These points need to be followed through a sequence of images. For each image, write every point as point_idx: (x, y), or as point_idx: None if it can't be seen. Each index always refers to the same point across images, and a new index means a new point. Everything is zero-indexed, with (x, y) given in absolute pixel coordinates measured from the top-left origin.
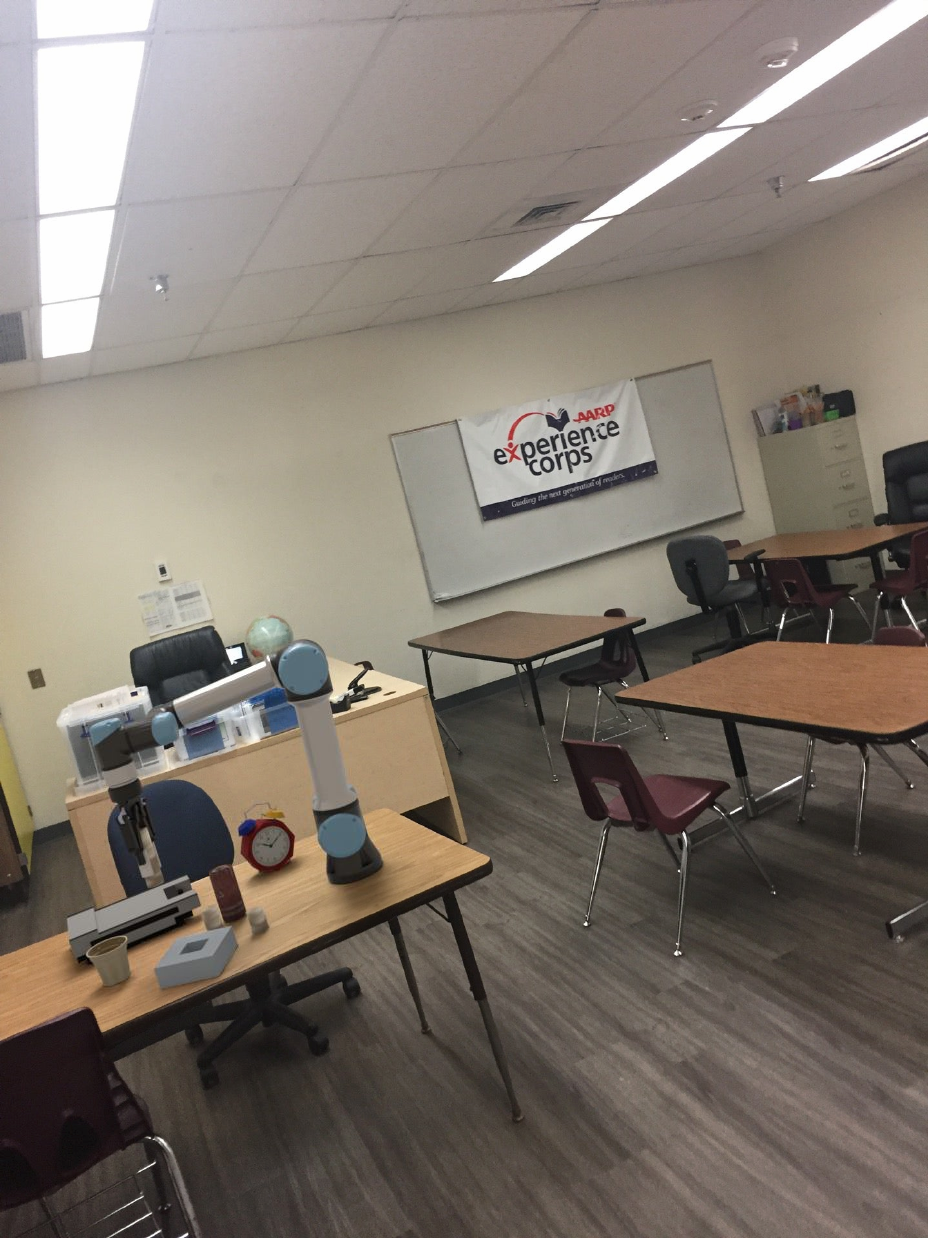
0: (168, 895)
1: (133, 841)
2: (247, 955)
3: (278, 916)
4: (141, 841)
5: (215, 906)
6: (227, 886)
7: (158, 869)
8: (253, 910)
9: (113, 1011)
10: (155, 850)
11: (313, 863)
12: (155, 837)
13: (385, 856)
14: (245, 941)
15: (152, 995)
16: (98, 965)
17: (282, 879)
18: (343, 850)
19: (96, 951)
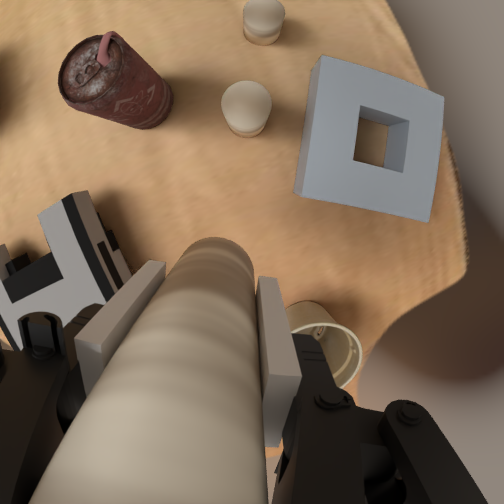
0: (42, 282)
1: (467, 491)
2: (370, 52)
3: (217, 5)
4: (314, 460)
5: (239, 85)
6: (145, 63)
7: (222, 259)
8: (260, 13)
9: (423, 289)
10: (121, 305)
11: (18, 22)
12: (29, 330)
13: None
14: (302, 56)
15: (418, 227)
16: (341, 361)
17: (34, 57)
18: None
19: None
